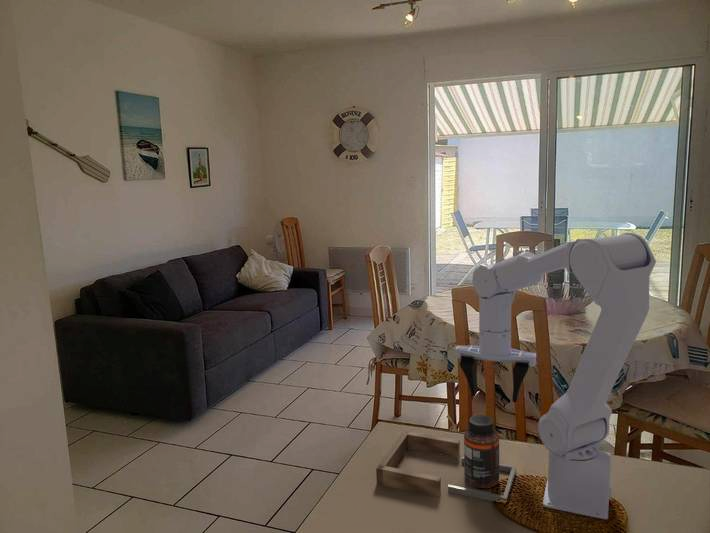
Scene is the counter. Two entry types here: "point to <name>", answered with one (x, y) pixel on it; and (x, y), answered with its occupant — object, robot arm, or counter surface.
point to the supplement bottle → (481, 452)
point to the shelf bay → (410, 479)
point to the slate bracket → (484, 494)
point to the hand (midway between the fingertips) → (494, 397)
